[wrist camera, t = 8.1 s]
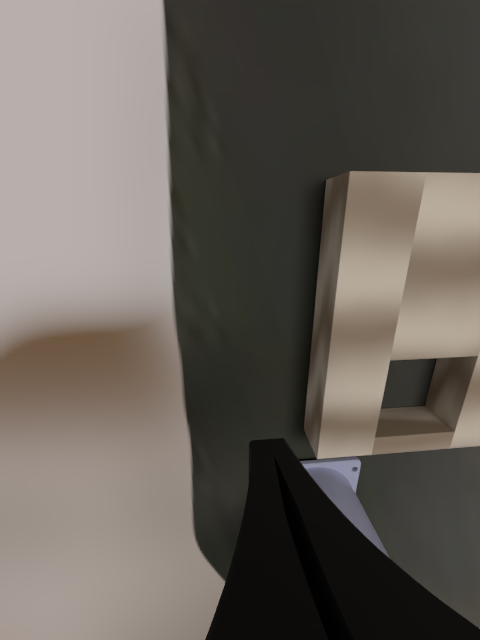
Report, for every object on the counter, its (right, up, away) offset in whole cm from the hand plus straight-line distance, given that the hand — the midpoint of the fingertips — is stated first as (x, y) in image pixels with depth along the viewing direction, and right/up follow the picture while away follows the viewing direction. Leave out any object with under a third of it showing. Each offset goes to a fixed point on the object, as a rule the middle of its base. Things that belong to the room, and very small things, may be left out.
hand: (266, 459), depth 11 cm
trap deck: (+15, +6, +10) cm, 19 cm away
